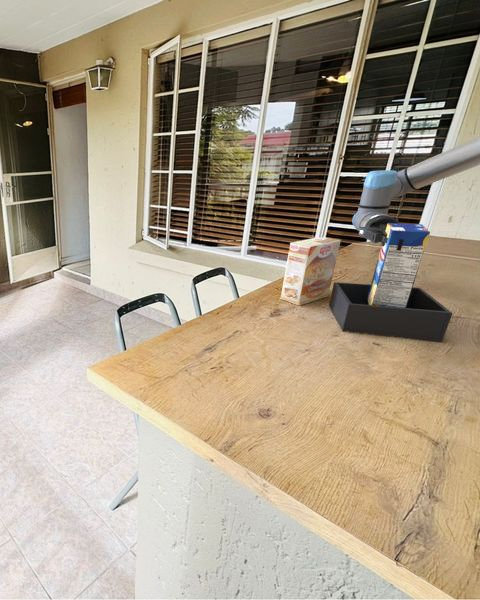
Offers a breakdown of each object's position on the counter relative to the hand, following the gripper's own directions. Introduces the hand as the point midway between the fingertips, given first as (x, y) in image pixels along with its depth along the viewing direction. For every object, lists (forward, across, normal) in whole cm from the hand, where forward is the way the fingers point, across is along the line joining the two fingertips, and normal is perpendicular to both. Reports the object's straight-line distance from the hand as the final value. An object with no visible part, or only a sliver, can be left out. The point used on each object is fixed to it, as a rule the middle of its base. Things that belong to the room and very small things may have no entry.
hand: (409, 245), depth 86 cm
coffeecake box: (-20, +16, -24) cm, 35 cm away
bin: (-5, 0, -23) cm, 24 cm away
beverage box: (-5, 0, -19) cm, 20 cm away
